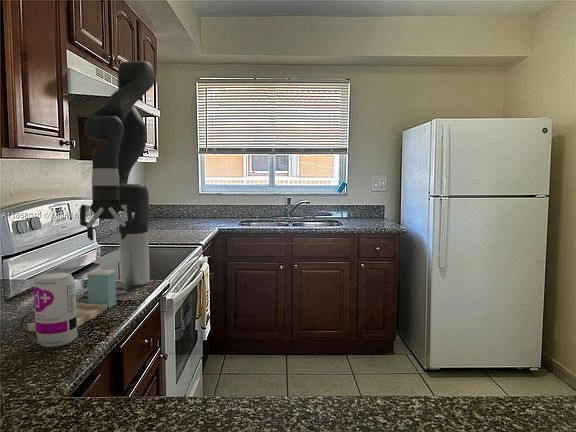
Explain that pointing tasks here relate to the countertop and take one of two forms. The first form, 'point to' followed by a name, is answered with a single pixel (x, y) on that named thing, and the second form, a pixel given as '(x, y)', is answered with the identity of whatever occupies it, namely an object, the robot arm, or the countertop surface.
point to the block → (101, 287)
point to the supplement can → (55, 309)
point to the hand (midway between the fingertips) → (107, 239)
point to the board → (81, 313)
